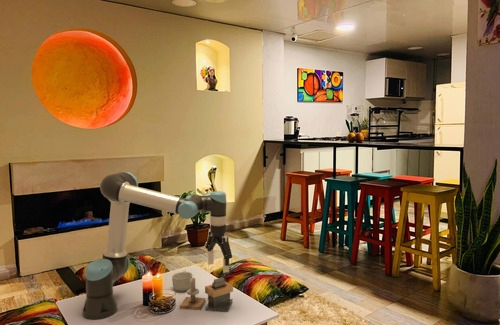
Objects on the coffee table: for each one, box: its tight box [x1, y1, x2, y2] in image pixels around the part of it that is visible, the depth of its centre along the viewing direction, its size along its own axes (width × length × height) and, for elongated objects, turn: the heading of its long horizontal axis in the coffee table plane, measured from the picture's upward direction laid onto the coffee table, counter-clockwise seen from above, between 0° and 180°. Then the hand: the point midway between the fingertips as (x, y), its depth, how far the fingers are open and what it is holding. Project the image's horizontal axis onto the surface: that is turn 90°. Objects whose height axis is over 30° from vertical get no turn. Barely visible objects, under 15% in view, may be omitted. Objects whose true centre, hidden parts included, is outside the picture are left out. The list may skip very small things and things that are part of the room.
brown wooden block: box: [204, 281, 234, 298], centre depth 186 cm, size 11×7×3 cm, turn 127°
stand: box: [179, 277, 207, 311], centre depth 188 cm, size 10×10×13 cm
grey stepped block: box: [204, 277, 233, 313], centre depth 186 cm, size 11×11×14 cm
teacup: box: [171, 270, 193, 292], centre depth 208 cm, size 14×11×8 cm
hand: (218, 268), depth 185 cm, fingers open, 13 cm apart
